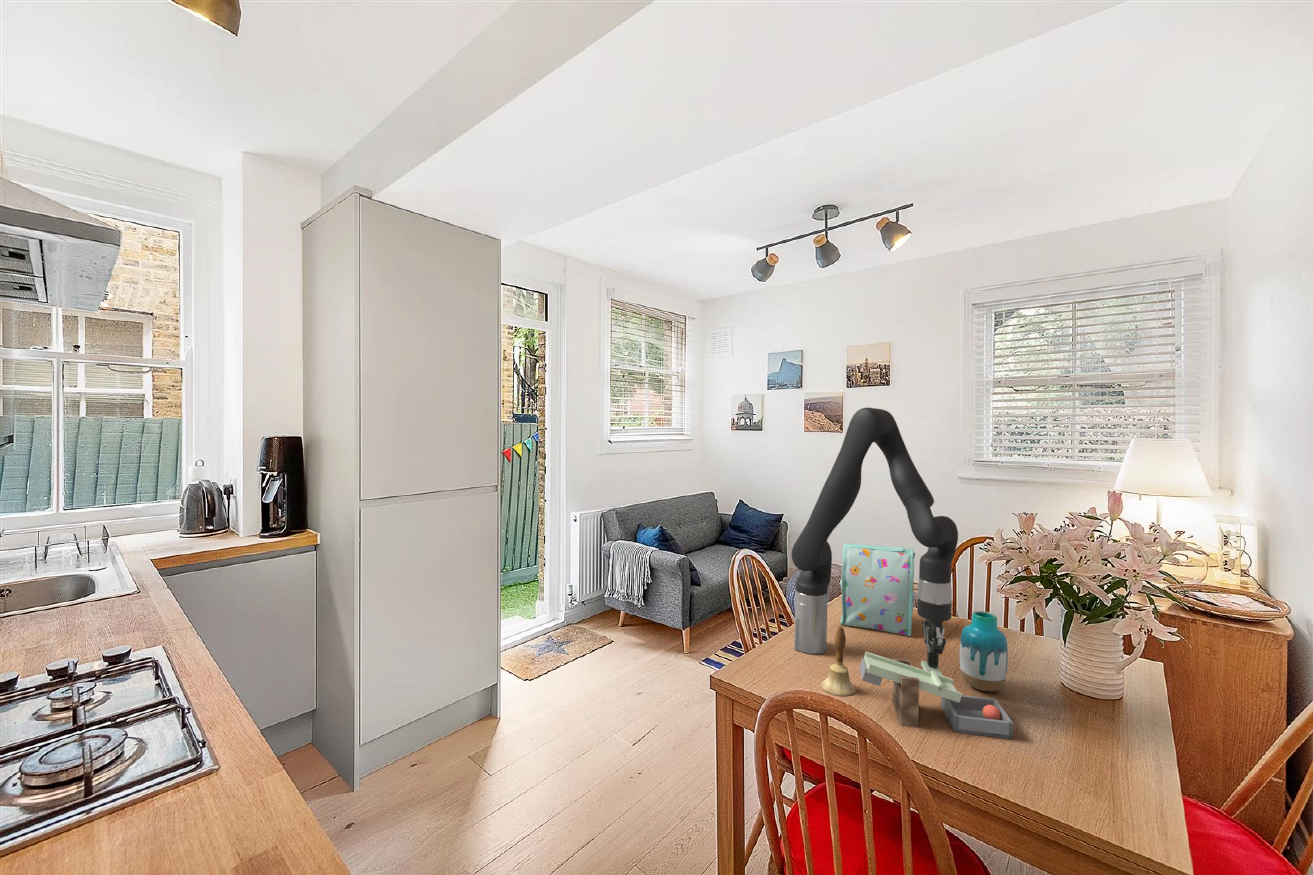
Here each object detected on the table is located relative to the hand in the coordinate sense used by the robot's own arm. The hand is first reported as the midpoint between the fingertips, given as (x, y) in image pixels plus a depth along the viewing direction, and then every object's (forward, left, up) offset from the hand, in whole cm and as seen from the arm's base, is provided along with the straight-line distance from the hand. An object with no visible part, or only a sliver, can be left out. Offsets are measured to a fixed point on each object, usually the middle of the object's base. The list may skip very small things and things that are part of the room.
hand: (932, 666), depth 137 cm
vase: (+14, +8, -8) cm, 18 cm away
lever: (-8, -6, -2) cm, 10 cm away
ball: (+10, -10, -5) cm, 15 cm away
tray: (+7, -10, -8) cm, 14 cm away
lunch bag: (-6, +46, -8) cm, 47 cm away
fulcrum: (-8, -10, -8) cm, 15 cm away
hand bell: (-22, -1, -8) cm, 24 cm away
